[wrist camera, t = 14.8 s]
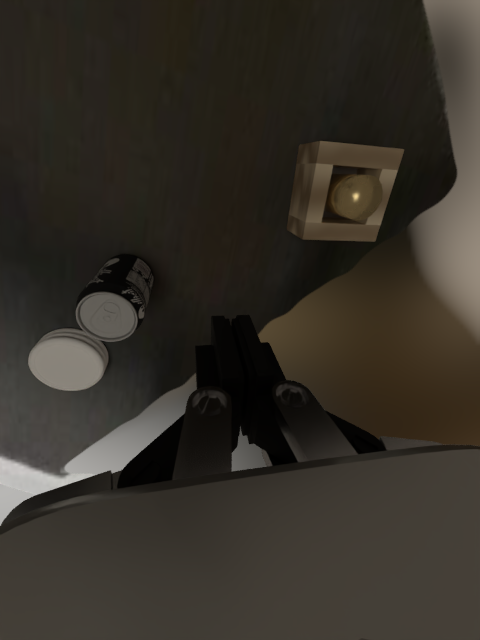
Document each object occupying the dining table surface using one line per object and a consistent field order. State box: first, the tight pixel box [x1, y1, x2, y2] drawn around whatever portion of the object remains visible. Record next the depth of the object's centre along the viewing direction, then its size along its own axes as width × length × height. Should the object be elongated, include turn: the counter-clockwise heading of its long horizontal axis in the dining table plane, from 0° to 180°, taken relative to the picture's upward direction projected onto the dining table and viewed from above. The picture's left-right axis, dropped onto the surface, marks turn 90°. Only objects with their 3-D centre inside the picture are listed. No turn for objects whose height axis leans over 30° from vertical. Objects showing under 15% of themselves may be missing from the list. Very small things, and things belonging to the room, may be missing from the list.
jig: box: [287, 141, 404, 241], centre depth 33 cm, size 10×10×6 cm
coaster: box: [28, 328, 109, 391], centre depth 40 cm, size 10×10×4 cm
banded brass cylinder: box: [324, 173, 383, 221], centre depth 31 cm, size 4×4×8 cm
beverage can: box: [76, 255, 154, 342], centre depth 31 cm, size 7×7×12 cm
